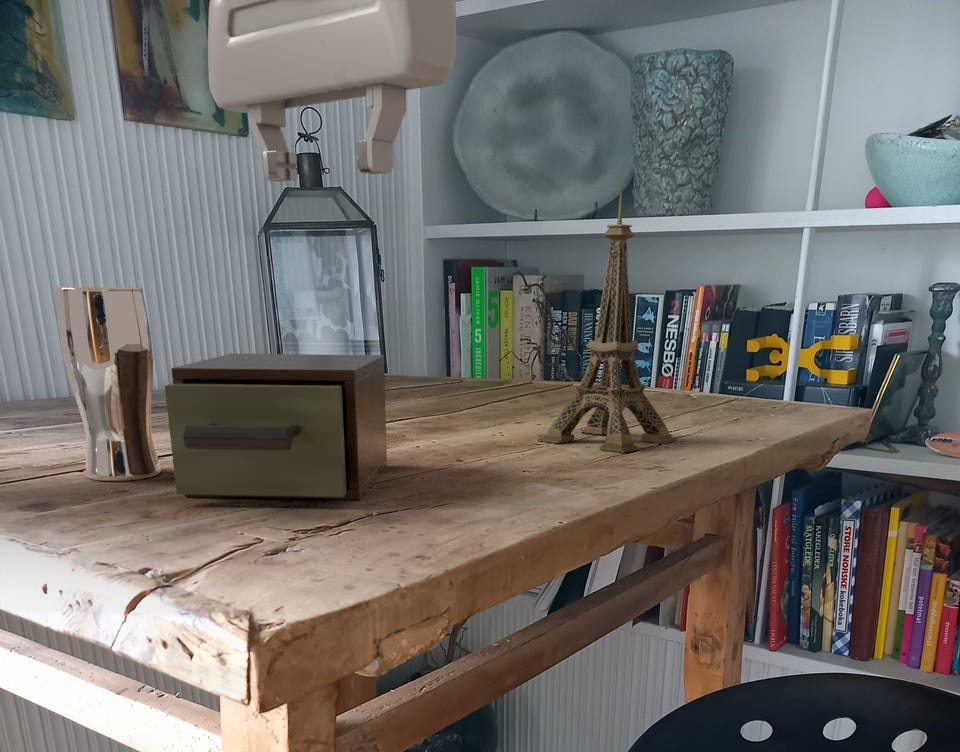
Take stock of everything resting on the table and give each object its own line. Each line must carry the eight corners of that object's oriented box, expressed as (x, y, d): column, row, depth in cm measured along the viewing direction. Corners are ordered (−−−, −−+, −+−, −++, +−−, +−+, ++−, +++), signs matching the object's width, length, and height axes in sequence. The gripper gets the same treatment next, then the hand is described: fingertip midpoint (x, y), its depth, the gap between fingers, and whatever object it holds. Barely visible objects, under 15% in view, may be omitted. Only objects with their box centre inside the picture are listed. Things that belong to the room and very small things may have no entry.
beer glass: (62, 480, 78) (32, 287, 72) (112, 465, 84) (88, 287, 78) (137, 484, 76) (112, 288, 71) (182, 469, 82) (162, 287, 77)
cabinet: (359, 500, 71) (354, 370, 68) (184, 497, 72) (170, 368, 68) (387, 465, 85) (384, 355, 81) (239, 462, 85) (230, 353, 82)
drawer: (330, 512, 64) (324, 395, 61) (151, 509, 64) (137, 392, 61) (372, 463, 81) (369, 370, 78) (231, 461, 81) (223, 368, 78)
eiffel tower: (594, 430, 105) (606, 185, 97) (677, 440, 99) (698, 179, 90) (537, 441, 98) (544, 177, 89) (622, 452, 92) (639, 169, 83)
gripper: (174, -53, 61) (194, 181, 66) (395, -133, 49) (399, 162, 54) (253, -29, 66) (267, 188, 71) (473, -97, 53) (471, 172, 58)
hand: (326, 177), depth 62 cm, fingers open, 8 cm apart
